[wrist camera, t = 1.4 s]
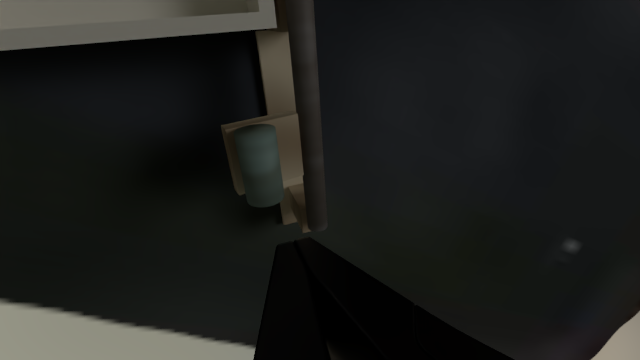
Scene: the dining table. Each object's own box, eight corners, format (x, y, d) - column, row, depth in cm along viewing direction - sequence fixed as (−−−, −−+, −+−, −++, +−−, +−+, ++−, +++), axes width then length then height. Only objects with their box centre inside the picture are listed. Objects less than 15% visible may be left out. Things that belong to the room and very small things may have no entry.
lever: (472, 158, 24) (504, 170, 22) (246, 246, 16) (264, 277, 14) (536, -203, 15) (600, -238, 13) (110, -370, 7) (109, -516, 5)
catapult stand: (448, 181, 25) (479, 201, 22) (282, 221, 21) (295, 252, 19) (498, -166, 16) (562, -205, 13) (223, -192, 12) (230, -254, 9)
